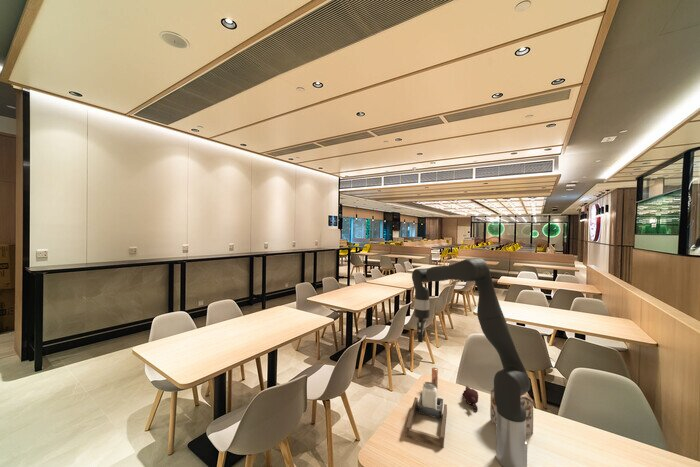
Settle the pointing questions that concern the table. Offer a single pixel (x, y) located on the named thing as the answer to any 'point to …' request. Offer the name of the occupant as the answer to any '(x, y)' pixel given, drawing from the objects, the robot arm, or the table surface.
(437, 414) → the pull frame
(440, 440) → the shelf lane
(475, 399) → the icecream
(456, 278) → the robot arm
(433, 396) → the can
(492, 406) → the decorative jar
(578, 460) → the table surface
